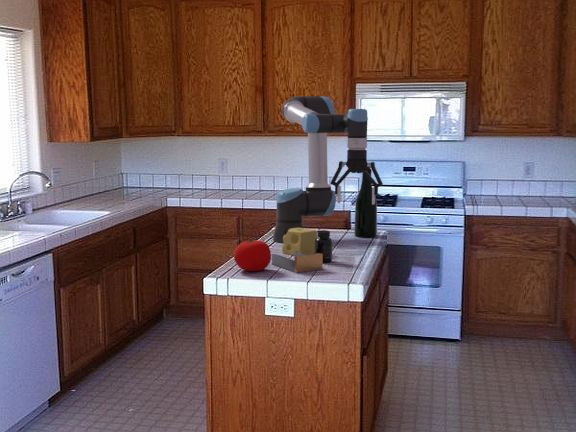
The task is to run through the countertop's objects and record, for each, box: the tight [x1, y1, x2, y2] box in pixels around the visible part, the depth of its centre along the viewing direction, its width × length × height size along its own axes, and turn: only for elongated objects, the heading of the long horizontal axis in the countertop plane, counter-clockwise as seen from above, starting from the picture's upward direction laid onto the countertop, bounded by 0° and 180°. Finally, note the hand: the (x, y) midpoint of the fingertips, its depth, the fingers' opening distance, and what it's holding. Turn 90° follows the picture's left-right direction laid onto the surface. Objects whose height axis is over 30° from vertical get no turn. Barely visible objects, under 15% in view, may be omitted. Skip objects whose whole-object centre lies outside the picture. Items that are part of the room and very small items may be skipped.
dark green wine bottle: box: [353, 166, 378, 239], centre depth 320 cm, size 10×10×33 cm
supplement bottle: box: [314, 230, 333, 264], centre depth 265 cm, size 7×7×12 cm
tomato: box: [233, 238, 272, 272], centre depth 250 cm, size 12×14×11 cm
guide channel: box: [271, 251, 324, 274], centre depth 256 cm, size 17×11×6 cm, turn 32°
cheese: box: [281, 228, 318, 256], centre depth 281 cm, size 10×11×10 cm
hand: (356, 203), depth 268 cm, fingers open, 13 cm apart
